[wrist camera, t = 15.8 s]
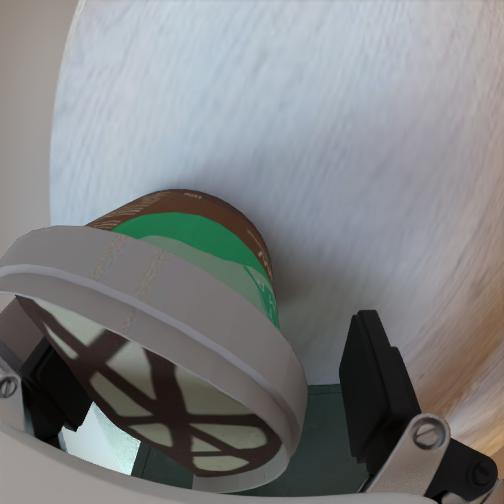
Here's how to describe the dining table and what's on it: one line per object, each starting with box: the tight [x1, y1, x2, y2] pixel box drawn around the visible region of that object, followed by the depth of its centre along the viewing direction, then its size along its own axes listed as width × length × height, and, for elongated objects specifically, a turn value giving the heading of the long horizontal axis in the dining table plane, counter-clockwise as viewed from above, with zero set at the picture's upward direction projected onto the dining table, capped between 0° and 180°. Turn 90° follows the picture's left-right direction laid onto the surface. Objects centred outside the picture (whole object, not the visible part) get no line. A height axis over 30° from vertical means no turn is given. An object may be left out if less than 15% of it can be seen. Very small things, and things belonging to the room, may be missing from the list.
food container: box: [0, 189, 308, 493], centre depth 11 cm, size 12×6×10 cm, turn 20°
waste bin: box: [130, 384, 369, 497], centre depth 18 cm, size 17×17×13 cm
